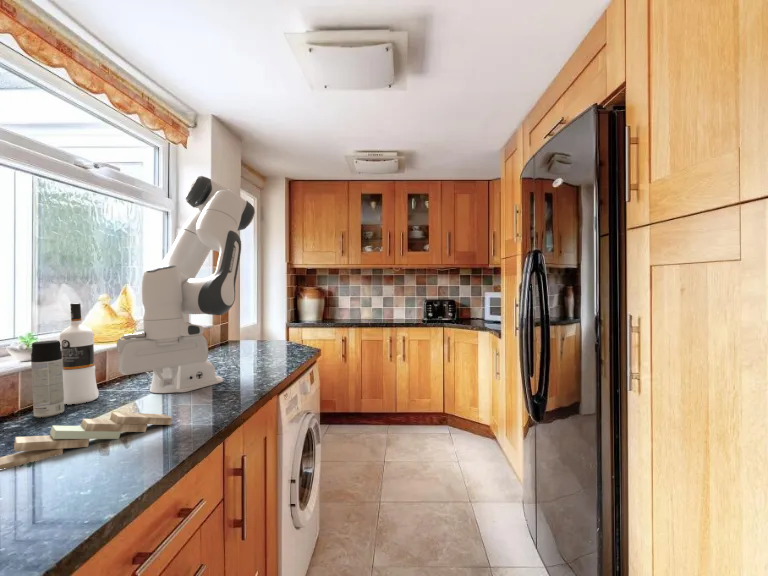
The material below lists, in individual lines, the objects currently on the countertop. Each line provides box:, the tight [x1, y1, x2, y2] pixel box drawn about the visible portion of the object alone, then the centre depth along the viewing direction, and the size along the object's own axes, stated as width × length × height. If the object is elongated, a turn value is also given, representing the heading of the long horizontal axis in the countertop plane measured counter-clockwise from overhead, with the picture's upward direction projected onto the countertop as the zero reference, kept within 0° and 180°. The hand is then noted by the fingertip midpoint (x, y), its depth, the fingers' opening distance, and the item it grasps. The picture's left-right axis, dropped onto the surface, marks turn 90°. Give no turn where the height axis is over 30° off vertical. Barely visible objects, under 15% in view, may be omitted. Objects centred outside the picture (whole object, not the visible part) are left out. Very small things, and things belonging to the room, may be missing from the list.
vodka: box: [59, 302, 100, 406], centre depth 128 cm, size 9×9×30 cm
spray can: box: [30, 339, 65, 418], centre depth 115 cm, size 7×7×20 cm
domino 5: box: [109, 412, 173, 426], centre depth 100 cm, size 2×5×12 cm
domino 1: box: [0, 448, 64, 470], centre depth 84 cm, size 2×5×12 cm
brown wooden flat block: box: [13, 434, 90, 452], centre depth 88 cm, size 2×5×12 cm
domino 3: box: [49, 424, 121, 440], centre depth 92 cm, size 2×5×12 cm
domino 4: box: [80, 418, 148, 433], centre depth 96 cm, size 2×5×12 cm
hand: (166, 385), depth 104 cm, fingers closed
